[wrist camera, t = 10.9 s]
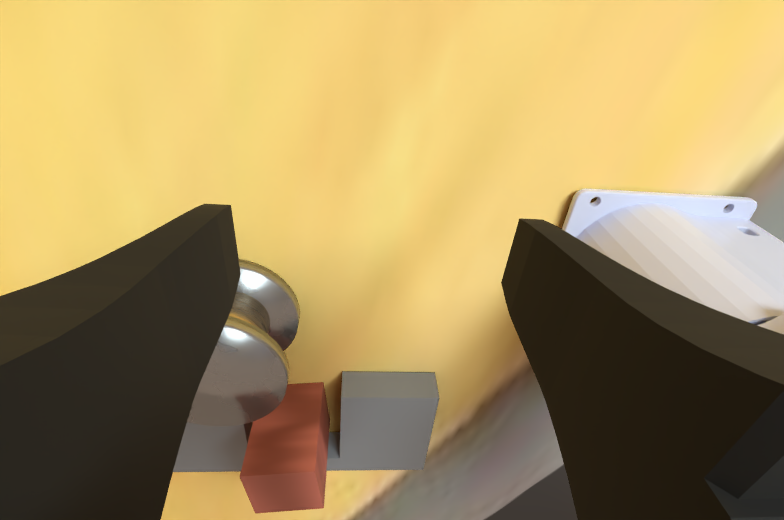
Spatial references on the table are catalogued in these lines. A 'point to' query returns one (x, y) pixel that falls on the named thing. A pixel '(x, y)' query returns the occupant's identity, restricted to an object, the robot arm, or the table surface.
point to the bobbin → (249, 352)
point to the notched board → (341, 428)
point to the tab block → (289, 453)
